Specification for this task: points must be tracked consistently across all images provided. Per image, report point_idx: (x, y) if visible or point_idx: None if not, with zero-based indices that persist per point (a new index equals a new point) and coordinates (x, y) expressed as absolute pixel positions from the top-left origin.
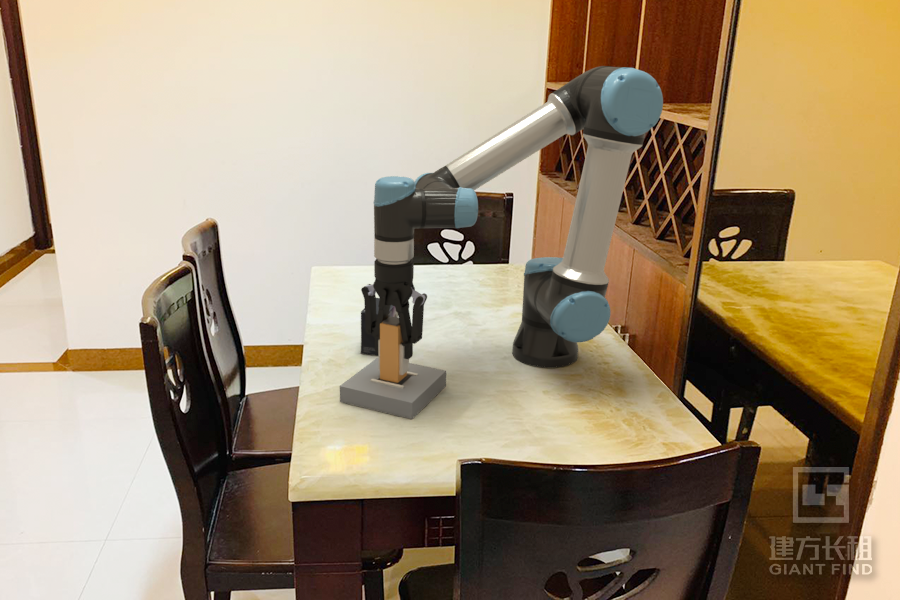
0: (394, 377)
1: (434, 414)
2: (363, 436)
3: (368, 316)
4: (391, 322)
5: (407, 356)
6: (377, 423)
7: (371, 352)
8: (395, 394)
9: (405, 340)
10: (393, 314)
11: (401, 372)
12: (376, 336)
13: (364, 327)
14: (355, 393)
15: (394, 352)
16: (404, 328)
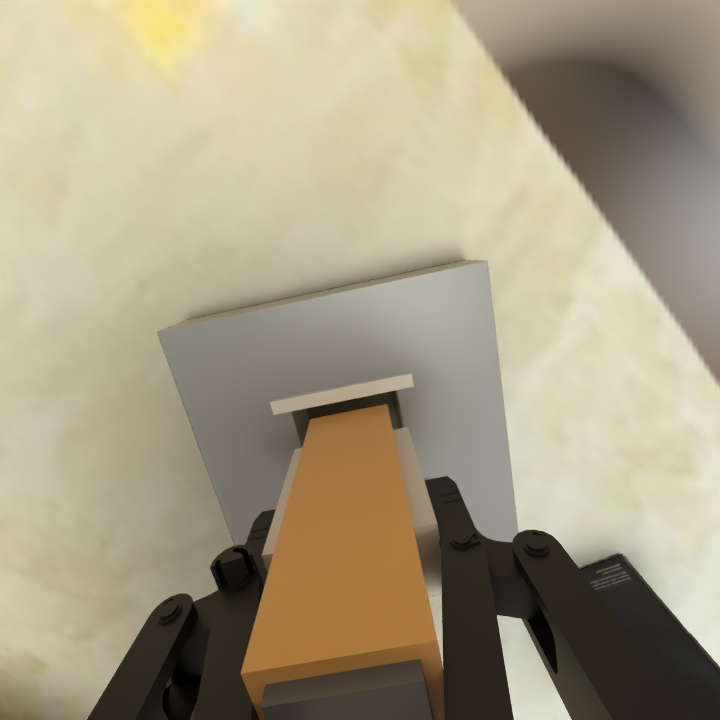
0: (322, 425)
1: (159, 389)
2: (223, 112)
3: (617, 682)
4: (334, 706)
5: (265, 521)
6: (254, 223)
7: (592, 573)
8: (255, 346)
9: (237, 591)
10: None
11: (298, 454)
12: (456, 537)
13: (690, 656)
14: (408, 276)
15: (309, 495)
16: (214, 689)
